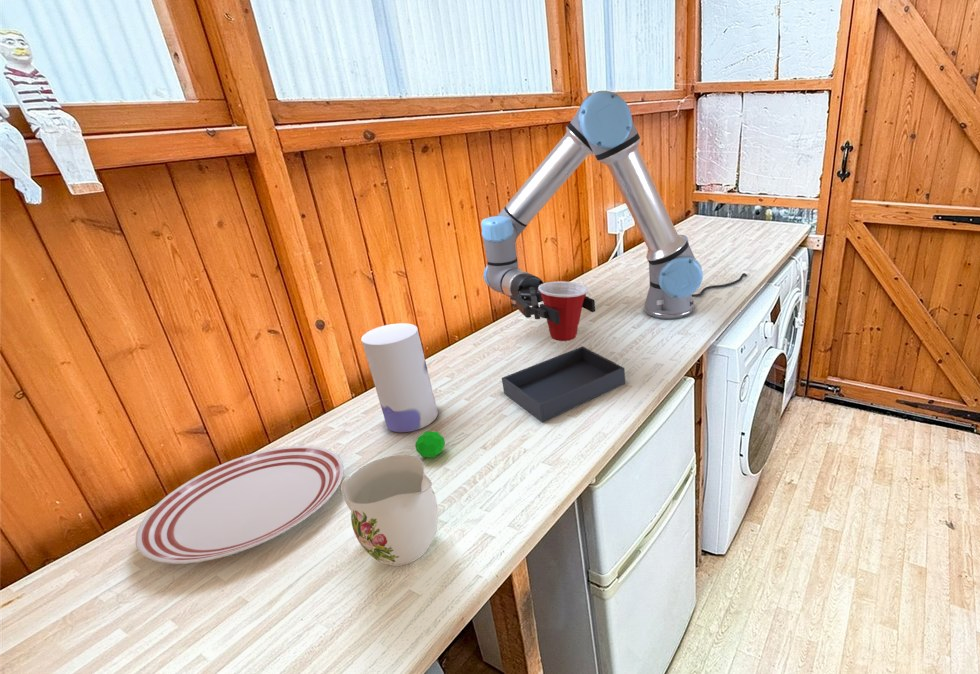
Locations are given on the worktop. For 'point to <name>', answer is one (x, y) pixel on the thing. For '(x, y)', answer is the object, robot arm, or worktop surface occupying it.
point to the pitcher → (392, 508)
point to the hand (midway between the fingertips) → (576, 311)
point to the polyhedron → (429, 444)
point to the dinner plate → (239, 504)
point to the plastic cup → (564, 307)
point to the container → (400, 376)
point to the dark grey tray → (563, 382)
